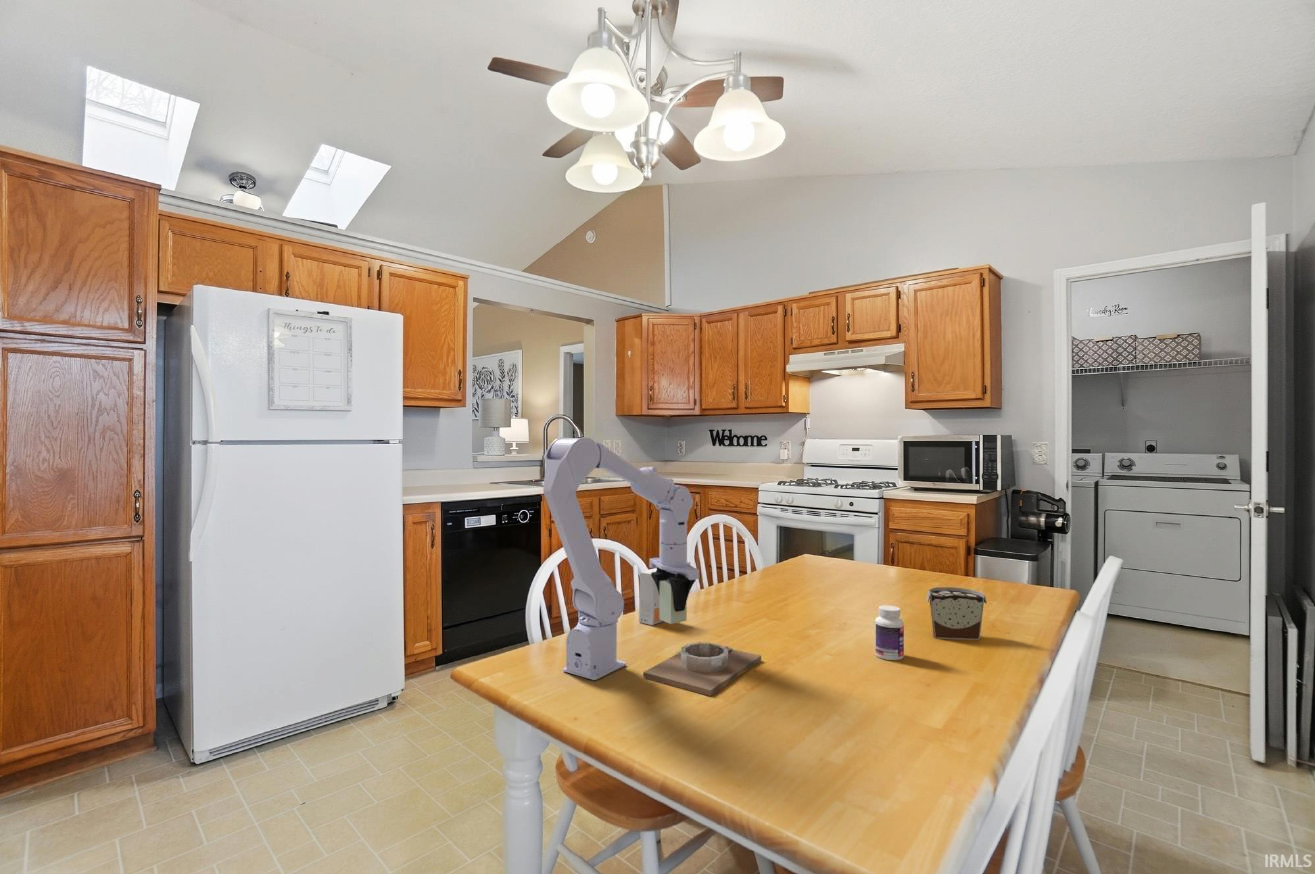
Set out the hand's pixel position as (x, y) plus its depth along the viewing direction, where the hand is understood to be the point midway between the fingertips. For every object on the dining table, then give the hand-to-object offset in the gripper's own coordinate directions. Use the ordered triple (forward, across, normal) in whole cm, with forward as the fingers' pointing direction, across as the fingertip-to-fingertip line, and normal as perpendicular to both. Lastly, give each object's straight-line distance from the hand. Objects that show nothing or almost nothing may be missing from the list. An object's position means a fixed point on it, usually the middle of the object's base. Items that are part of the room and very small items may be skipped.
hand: (672, 608), depth 126 cm
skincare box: (+8, +18, -8) cm, 21 cm away
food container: (+8, -28, -56) cm, 64 cm away
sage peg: (+2, 0, 0) cm, 2 cm away
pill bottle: (+8, -28, -33) cm, 44 cm away
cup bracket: (+8, -12, +2) cm, 15 cm away
